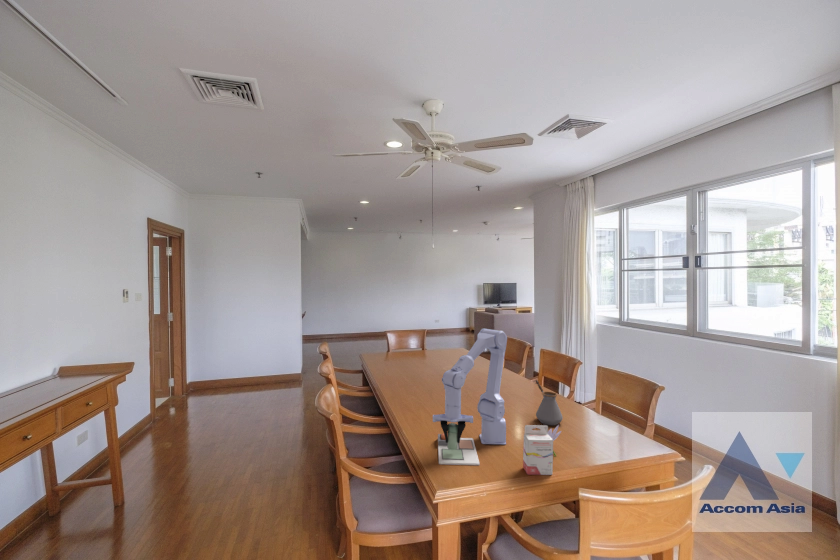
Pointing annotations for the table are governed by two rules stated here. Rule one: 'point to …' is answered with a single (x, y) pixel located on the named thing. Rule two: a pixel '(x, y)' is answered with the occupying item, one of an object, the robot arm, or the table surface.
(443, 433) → the button
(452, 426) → the green rounded cylinder
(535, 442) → the ink cartridge box
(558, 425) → the water lily
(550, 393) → the coffee pot
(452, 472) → the table surface
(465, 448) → the picture board
